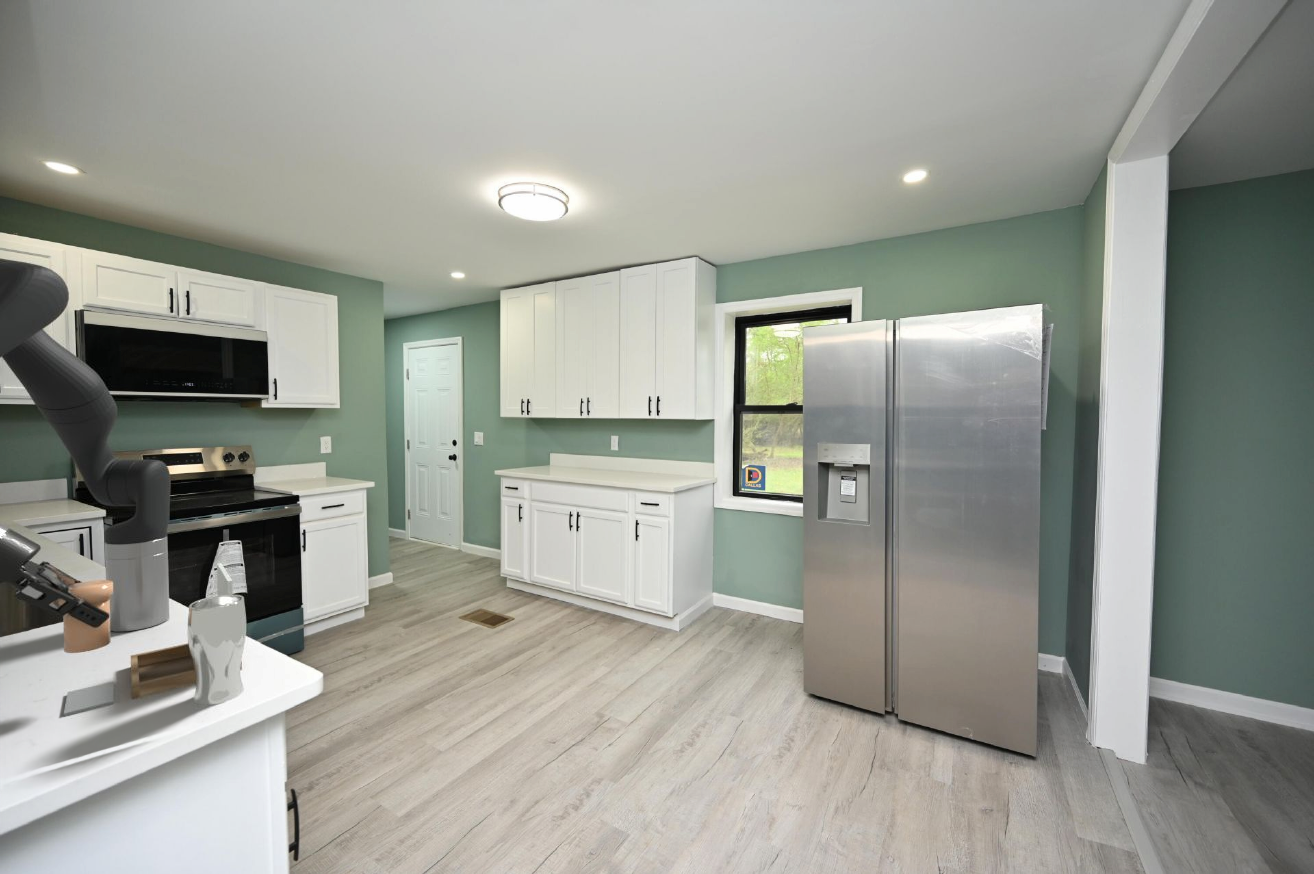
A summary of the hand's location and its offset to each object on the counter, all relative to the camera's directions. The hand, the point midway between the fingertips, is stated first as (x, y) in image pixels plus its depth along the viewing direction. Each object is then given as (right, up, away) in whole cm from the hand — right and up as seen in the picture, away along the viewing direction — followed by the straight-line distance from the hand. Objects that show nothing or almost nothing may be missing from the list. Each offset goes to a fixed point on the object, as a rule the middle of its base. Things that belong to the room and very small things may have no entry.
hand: (103, 615), depth 83 cm
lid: (+8, -5, +13) cm, 16 cm away
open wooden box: (+4, -12, +9) cm, 16 cm away
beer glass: (+16, -13, +1) cm, 21 cm away
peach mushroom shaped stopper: (-1, -4, -1) cm, 5 cm away
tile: (-1, -13, -1) cm, 13 cm away
